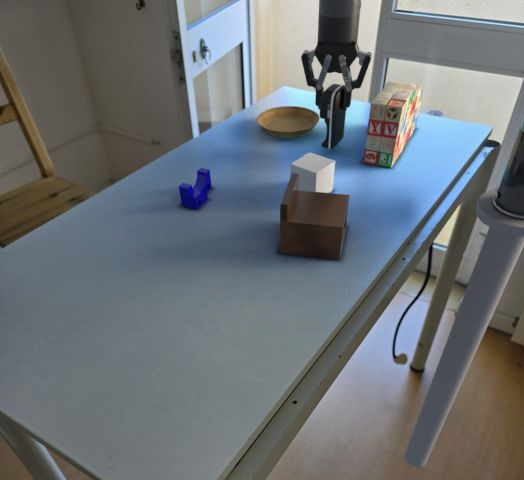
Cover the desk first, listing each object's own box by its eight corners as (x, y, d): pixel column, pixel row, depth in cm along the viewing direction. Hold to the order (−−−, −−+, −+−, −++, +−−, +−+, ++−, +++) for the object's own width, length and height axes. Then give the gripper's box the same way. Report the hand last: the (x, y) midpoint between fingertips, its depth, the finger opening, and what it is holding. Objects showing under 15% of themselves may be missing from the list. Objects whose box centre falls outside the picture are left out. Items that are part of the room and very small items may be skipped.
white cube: (290, 193, 93) (290, 163, 89) (308, 181, 96) (309, 152, 92) (315, 203, 90) (316, 173, 86) (332, 190, 93) (335, 160, 89)
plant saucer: (290, 148, 106) (290, 137, 104) (244, 131, 113) (243, 119, 111) (331, 127, 113) (332, 116, 111) (285, 112, 120) (285, 101, 118)
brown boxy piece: (346, 226, 85) (351, 177, 78) (339, 259, 78) (345, 210, 71) (291, 221, 86) (291, 173, 79) (280, 253, 80) (279, 203, 73)
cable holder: (197, 209, 90) (194, 190, 87) (181, 205, 91) (178, 186, 88) (218, 190, 95) (216, 171, 92) (203, 186, 96) (200, 167, 93)
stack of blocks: (389, 124, 113) (399, 67, 104) (415, 128, 111) (427, 70, 102) (362, 163, 100) (370, 101, 91) (391, 168, 98) (402, 106, 89)
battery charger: (328, 135, 107) (331, 80, 99) (344, 138, 106) (348, 82, 97) (316, 148, 103) (318, 91, 94) (332, 151, 101) (336, 93, 93)
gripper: (297, 14, 85) (295, 114, 98) (377, 15, 83) (365, 117, 95) (304, 4, 90) (302, 100, 103) (380, 5, 88) (368, 103, 100)
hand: (332, 108), depth 99 cm, fingers closed on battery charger, 4 cm apart
